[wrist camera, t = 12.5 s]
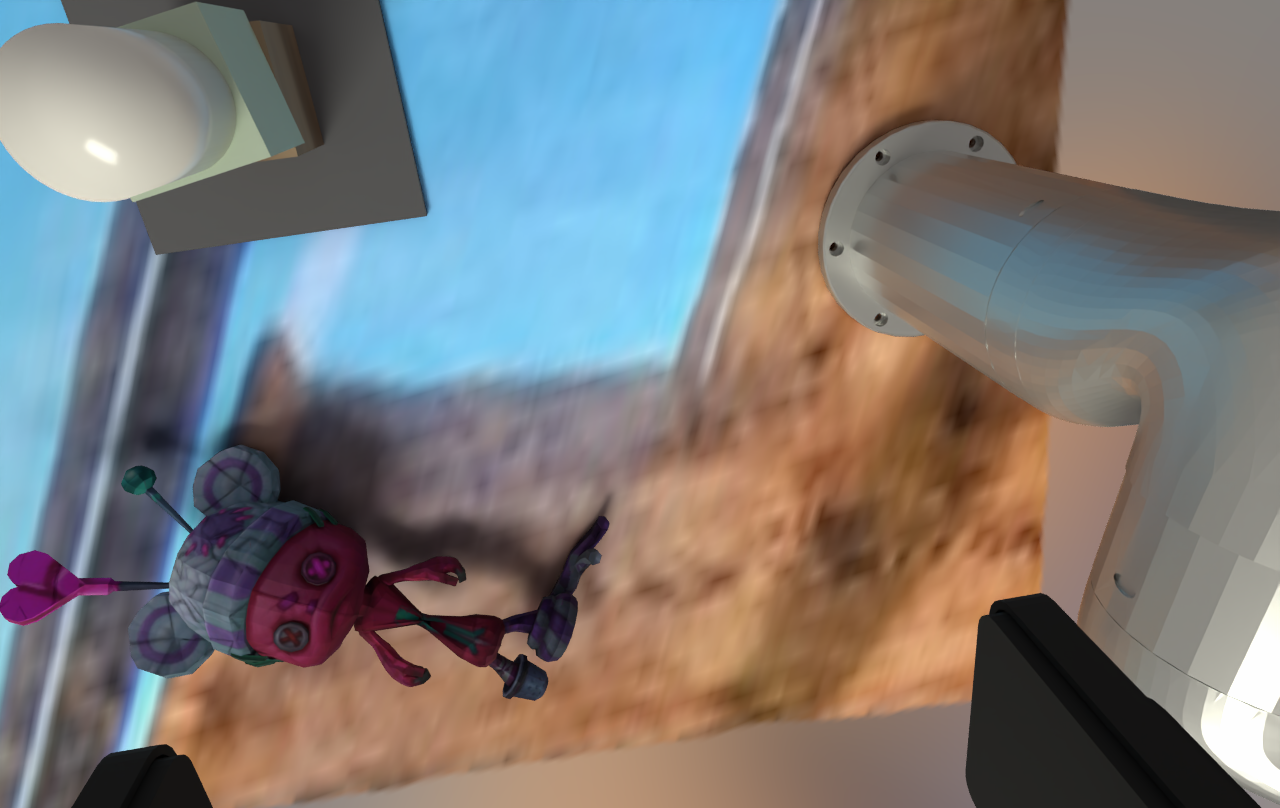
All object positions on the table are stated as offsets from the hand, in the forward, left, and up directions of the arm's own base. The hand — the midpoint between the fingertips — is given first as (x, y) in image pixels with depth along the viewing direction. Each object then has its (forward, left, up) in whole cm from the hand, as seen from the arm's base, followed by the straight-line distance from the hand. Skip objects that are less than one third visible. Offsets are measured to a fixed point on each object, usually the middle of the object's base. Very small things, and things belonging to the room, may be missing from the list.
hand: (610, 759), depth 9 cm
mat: (+13, -8, -38) cm, 40 cm away
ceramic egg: (+13, -8, -26) cm, 30 cm away
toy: (+15, +18, -38) cm, 45 cm away
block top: (+13, -8, -32) cm, 35 cm away
